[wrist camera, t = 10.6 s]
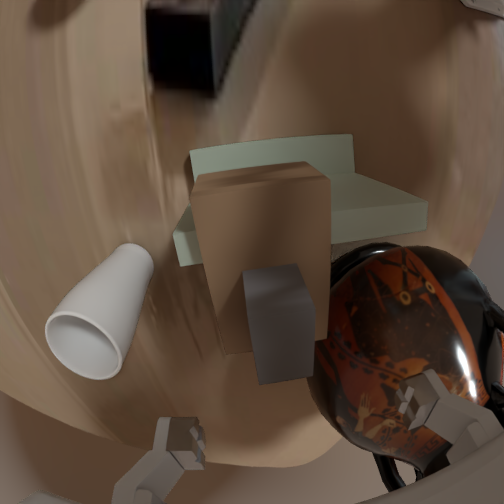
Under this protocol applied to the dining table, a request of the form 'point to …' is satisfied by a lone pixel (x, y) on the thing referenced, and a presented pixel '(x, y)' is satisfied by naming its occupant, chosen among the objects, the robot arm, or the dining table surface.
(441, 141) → the dining table surface
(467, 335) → the amphora vase
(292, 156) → the board
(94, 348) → the drinking glass
